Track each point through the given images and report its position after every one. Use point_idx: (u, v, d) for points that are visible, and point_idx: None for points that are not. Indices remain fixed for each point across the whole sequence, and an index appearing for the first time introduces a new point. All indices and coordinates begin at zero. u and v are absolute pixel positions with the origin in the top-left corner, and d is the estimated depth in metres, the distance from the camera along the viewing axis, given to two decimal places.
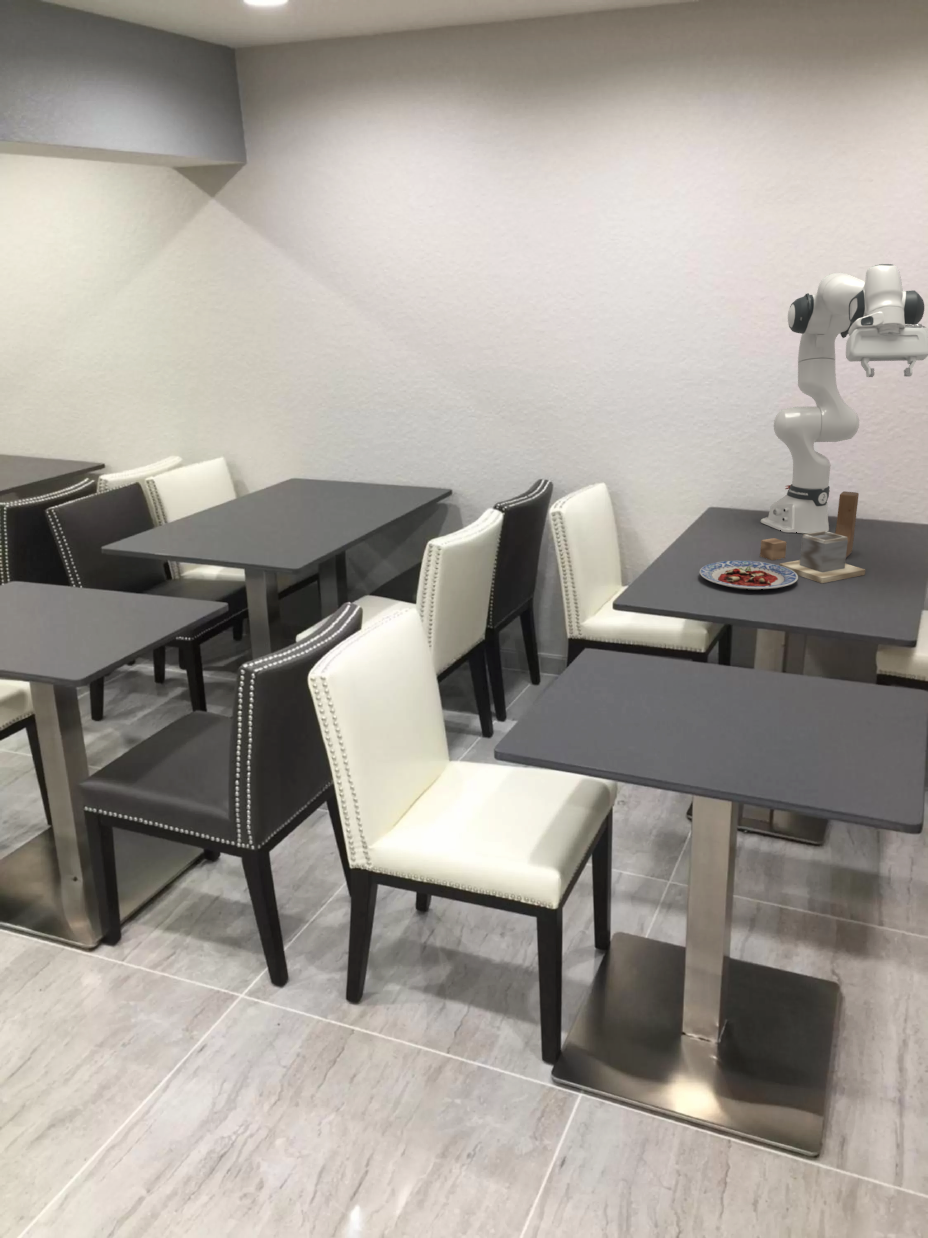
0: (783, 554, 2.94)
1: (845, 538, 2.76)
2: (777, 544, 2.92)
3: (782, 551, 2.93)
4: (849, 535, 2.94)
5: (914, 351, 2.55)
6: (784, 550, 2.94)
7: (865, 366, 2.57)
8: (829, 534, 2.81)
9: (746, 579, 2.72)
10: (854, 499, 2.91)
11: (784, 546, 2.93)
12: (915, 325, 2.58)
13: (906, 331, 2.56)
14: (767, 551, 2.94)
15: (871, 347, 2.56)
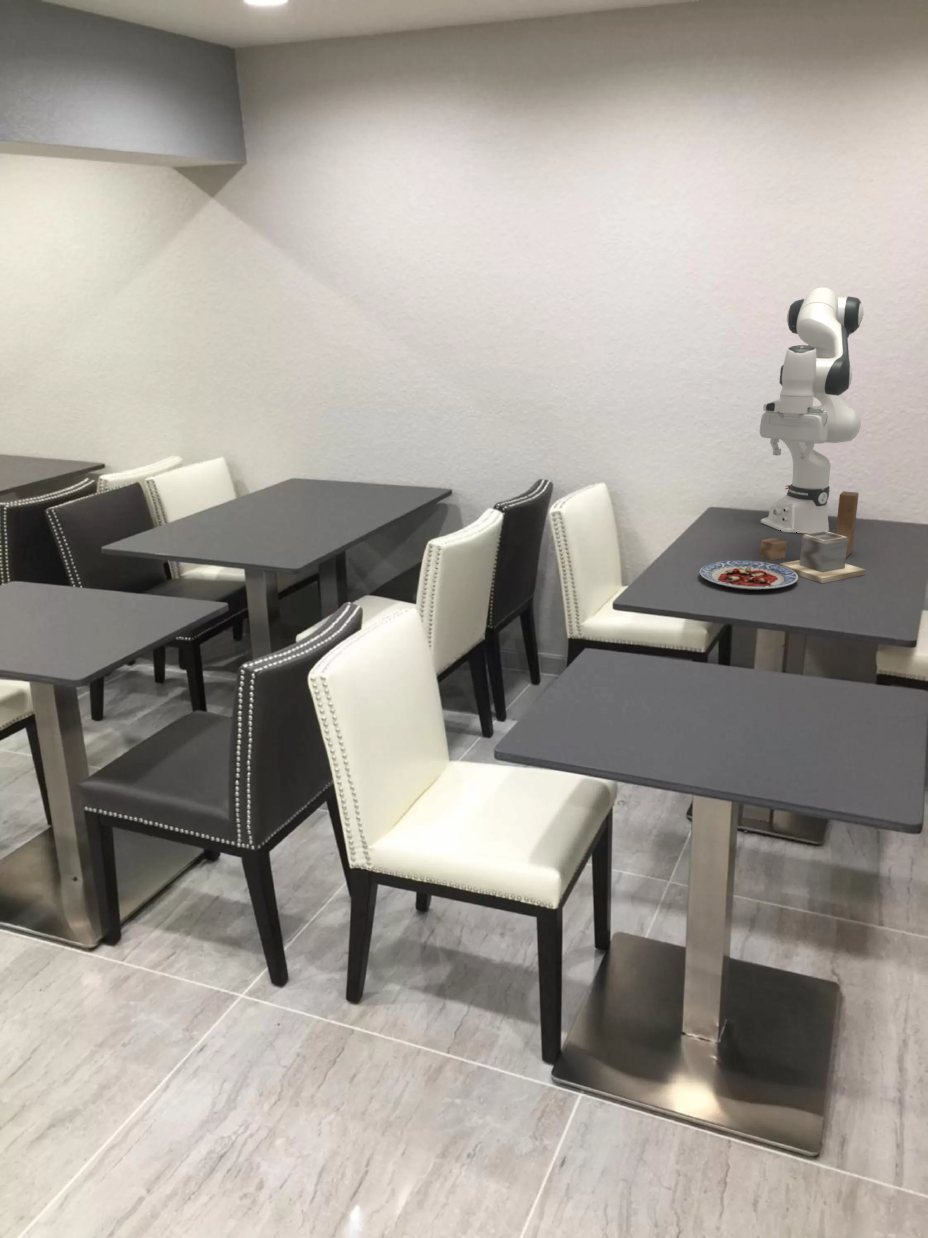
0: (783, 554, 2.94)
1: (845, 538, 2.76)
2: (777, 544, 2.92)
3: (782, 551, 2.93)
4: (849, 535, 2.94)
5: (806, 439, 2.75)
6: (784, 550, 2.94)
7: None
8: (829, 534, 2.81)
9: (746, 579, 2.72)
10: (854, 499, 2.91)
11: (784, 546, 2.93)
12: (816, 410, 2.72)
13: (803, 417, 2.74)
14: (767, 551, 2.94)
15: (775, 431, 2.83)
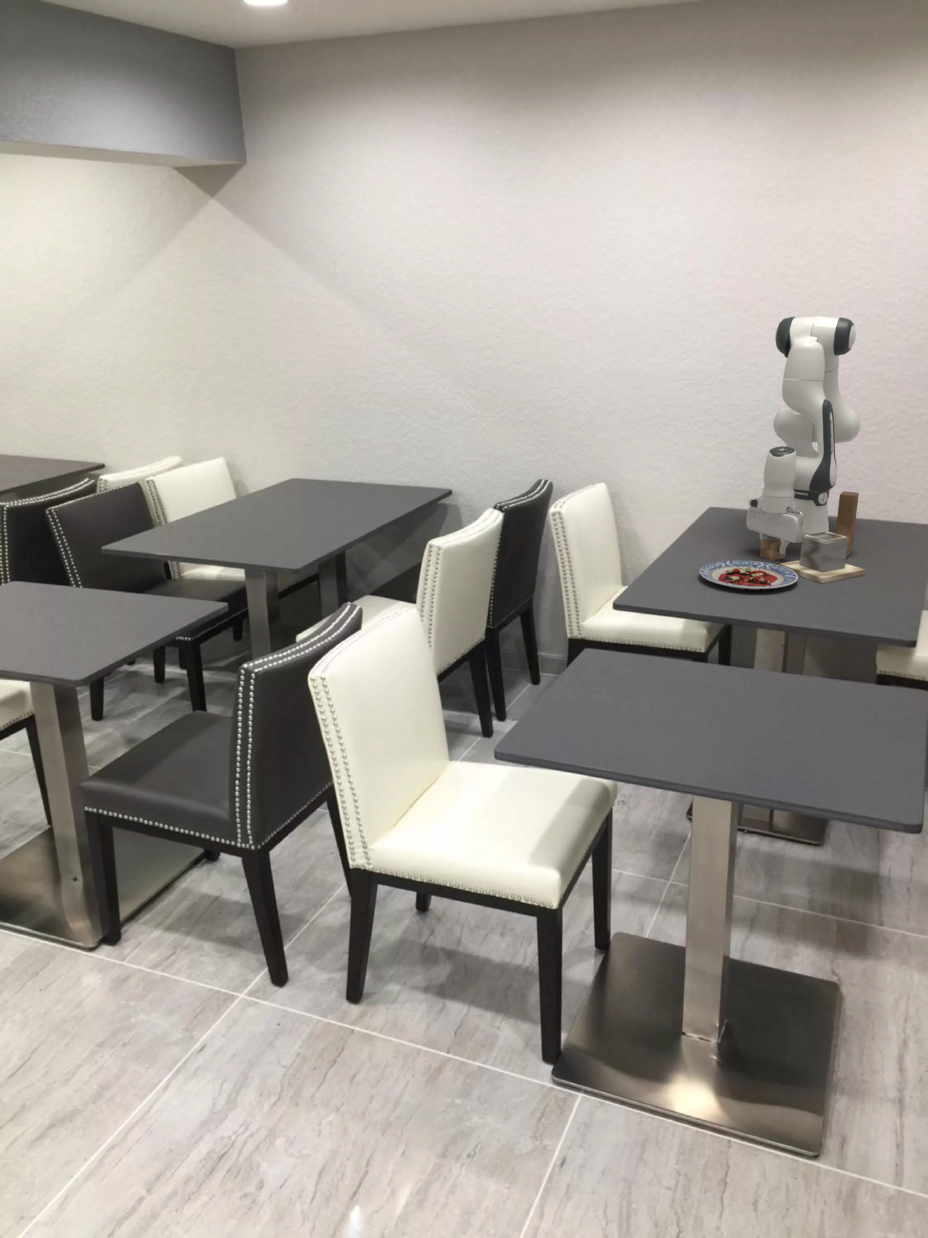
0: (783, 554, 2.94)
1: (845, 538, 2.76)
2: (777, 544, 2.92)
3: None
4: (849, 535, 2.94)
5: (784, 537, 2.87)
6: None
7: None
8: (829, 534, 2.81)
9: (746, 579, 2.72)
10: (854, 499, 2.91)
11: None
12: (794, 511, 2.84)
13: (782, 517, 2.87)
14: (767, 551, 2.94)
15: (759, 525, 2.96)
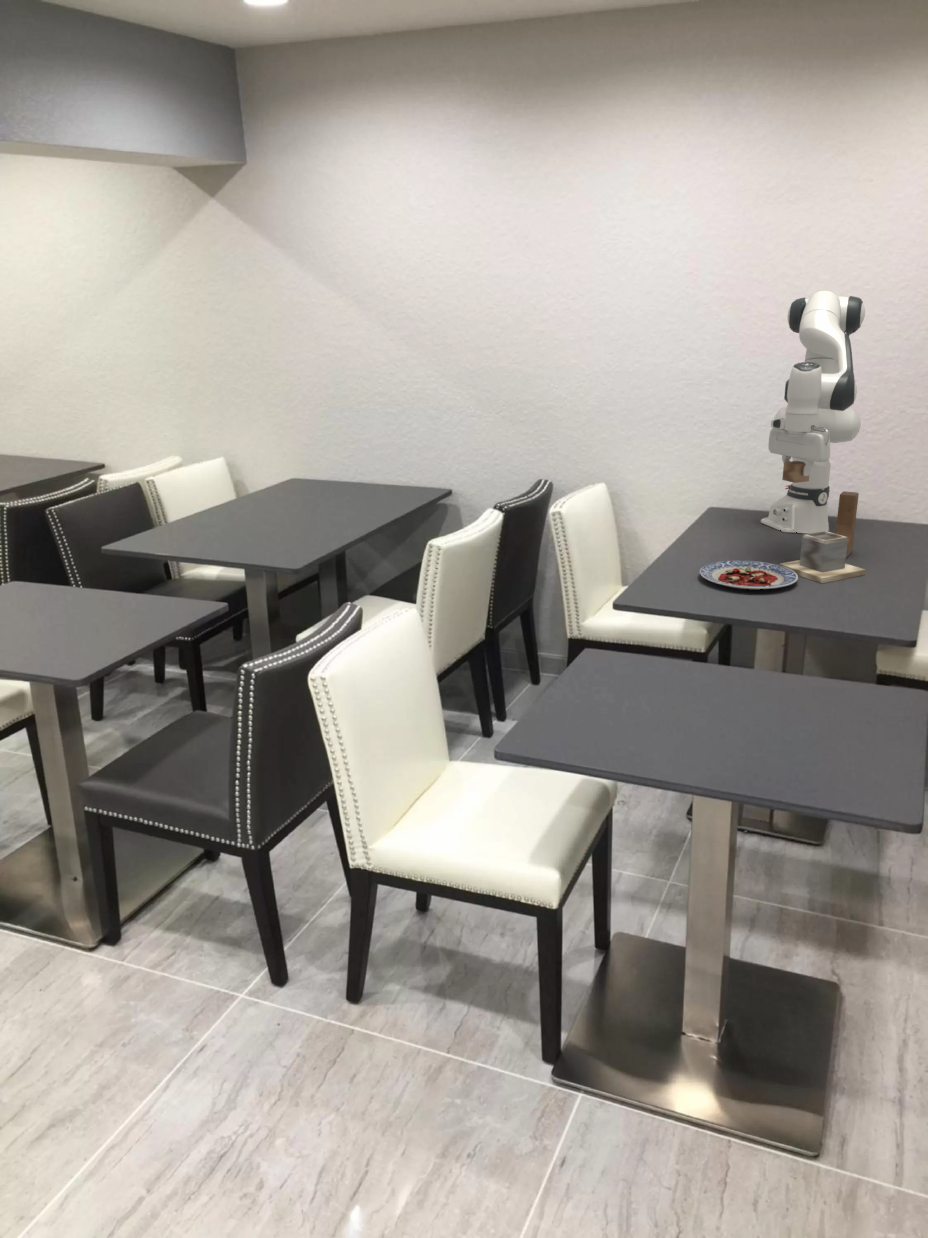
0: (807, 476, 2.81)
1: (845, 538, 2.76)
2: (800, 465, 2.79)
3: None
4: (849, 535, 2.94)
5: (809, 457, 2.74)
6: None
7: None
8: (829, 534, 2.81)
9: (746, 579, 2.72)
10: (854, 499, 2.91)
11: None
12: (819, 429, 2.71)
13: (806, 436, 2.74)
14: (790, 473, 2.81)
15: (781, 447, 2.83)
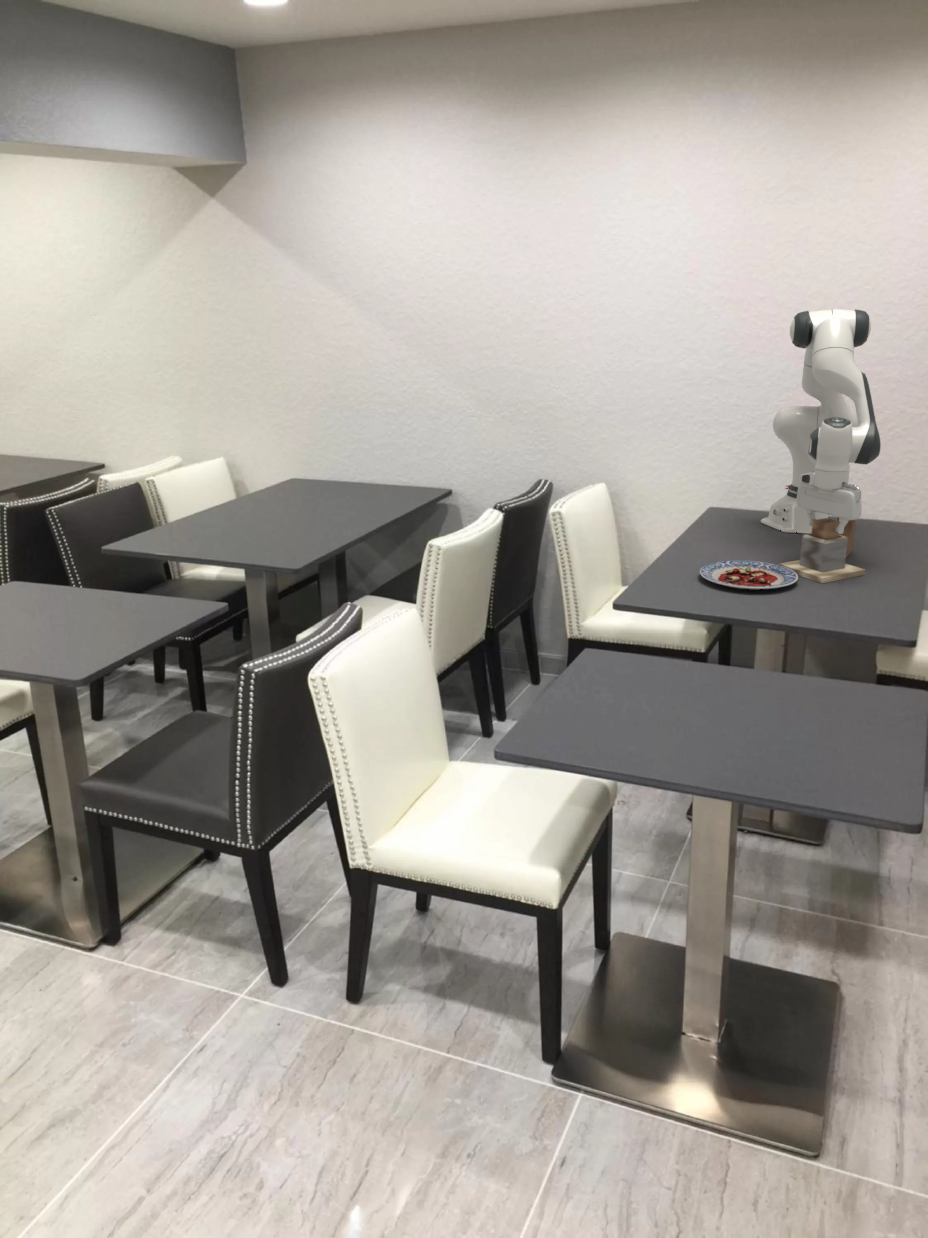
0: (836, 535, 2.76)
1: (845, 538, 2.76)
2: (830, 524, 2.74)
3: None
4: (849, 535, 2.94)
5: (839, 514, 2.69)
6: None
7: None
8: None
9: (746, 579, 2.72)
10: None
11: None
12: (850, 486, 2.66)
13: (837, 493, 2.69)
14: (819, 532, 2.76)
15: (810, 502, 2.78)
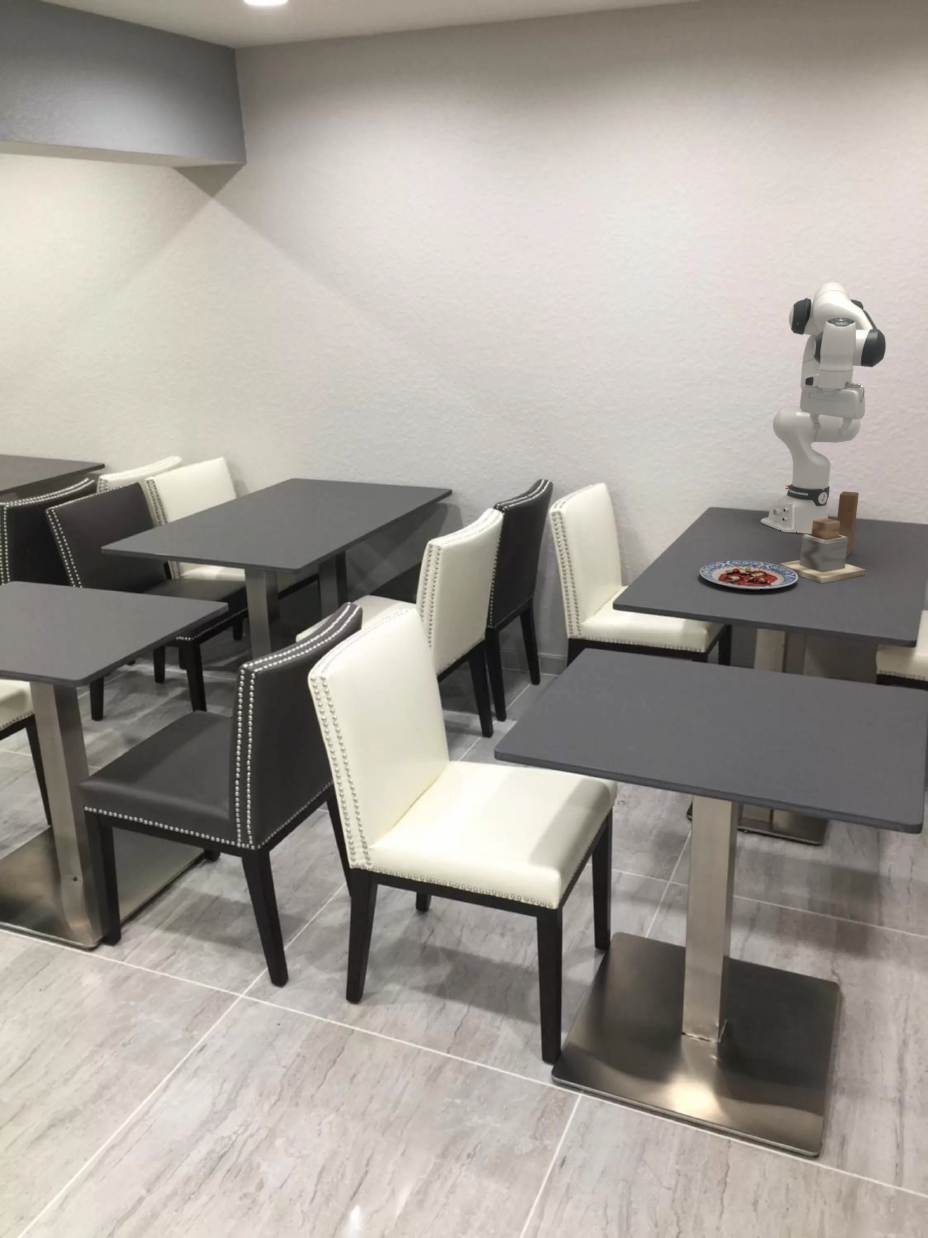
0: (836, 535, 2.76)
1: (845, 538, 2.76)
2: (830, 524, 2.74)
3: (835, 532, 2.75)
4: (849, 535, 2.94)
5: (843, 414, 2.70)
6: (837, 530, 2.76)
7: None
8: None
9: (746, 579, 2.72)
10: (854, 499, 2.91)
11: (837, 527, 2.75)
12: (854, 385, 2.67)
13: (840, 392, 2.70)
14: (819, 532, 2.76)
15: (814, 405, 2.79)
